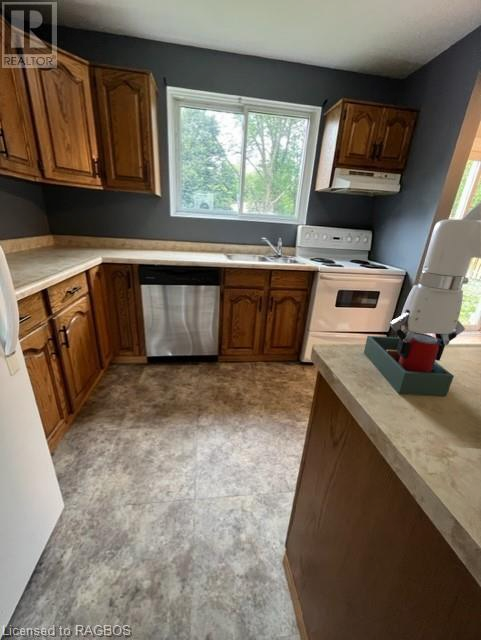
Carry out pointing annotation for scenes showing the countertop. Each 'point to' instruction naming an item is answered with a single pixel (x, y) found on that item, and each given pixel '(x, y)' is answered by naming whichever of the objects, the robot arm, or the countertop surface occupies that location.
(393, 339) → the open rectangular storage bin
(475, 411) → the countertop surface
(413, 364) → the beverage can
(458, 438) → the countertop surface
